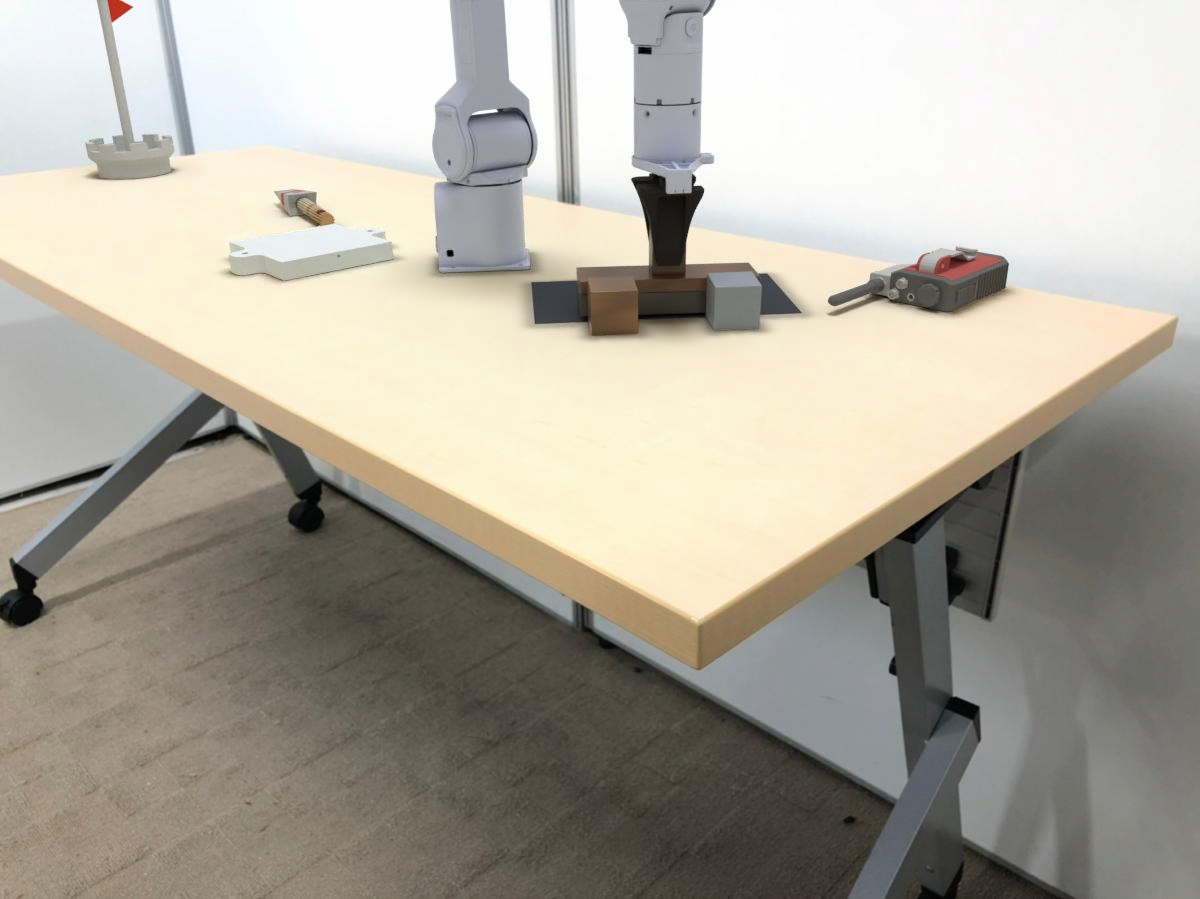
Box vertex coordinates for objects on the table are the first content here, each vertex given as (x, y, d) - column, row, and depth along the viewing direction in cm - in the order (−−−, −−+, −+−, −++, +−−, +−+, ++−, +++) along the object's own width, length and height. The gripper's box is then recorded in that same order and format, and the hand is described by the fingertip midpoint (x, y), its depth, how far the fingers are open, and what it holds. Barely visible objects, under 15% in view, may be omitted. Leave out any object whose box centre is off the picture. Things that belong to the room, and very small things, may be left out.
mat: (534, 325, 94) (534, 323, 94) (531, 284, 106) (531, 282, 106) (802, 314, 95) (802, 312, 95) (767, 275, 108) (767, 273, 108)
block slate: (713, 331, 91) (715, 287, 89) (705, 316, 95) (707, 272, 93) (759, 330, 91) (762, 285, 90) (749, 314, 95) (752, 271, 93)
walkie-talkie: (933, 271, 108) (819, 314, 95) (938, 228, 106) (822, 266, 94) (1015, 287, 102) (906, 334, 90) (1022, 241, 100) (911, 283, 88)
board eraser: (580, 316, 94) (579, 235, 91) (577, 301, 98) (575, 223, 95) (758, 311, 95) (763, 231, 92) (747, 295, 100) (751, 219, 97)
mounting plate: (260, 285, 108) (258, 266, 107) (209, 262, 117) (206, 245, 116) (413, 255, 118) (411, 237, 118) (355, 236, 127) (353, 220, 127)
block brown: (591, 337, 90) (590, 292, 89) (588, 320, 94) (587, 277, 92) (638, 335, 91) (638, 290, 89) (632, 319, 94) (633, 275, 92)
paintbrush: (296, 178, 148) (340, 208, 132) (298, 197, 149) (343, 230, 133) (268, 180, 146) (310, 211, 130) (270, 200, 147) (312, 233, 132)
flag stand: (124, 182, 165) (82, -29, 153) (75, 176, 172) (31, -28, 159) (194, 170, 175) (160, -30, 163) (145, 164, 182) (109, -28, 169)
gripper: (731, 110, 83) (725, 280, 89) (700, 92, 96) (697, 241, 102) (641, 113, 83) (641, 283, 88) (622, 94, 96) (624, 243, 101)
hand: (666, 261), depth 95 cm, fingers closed on board eraser, 2 cm apart
